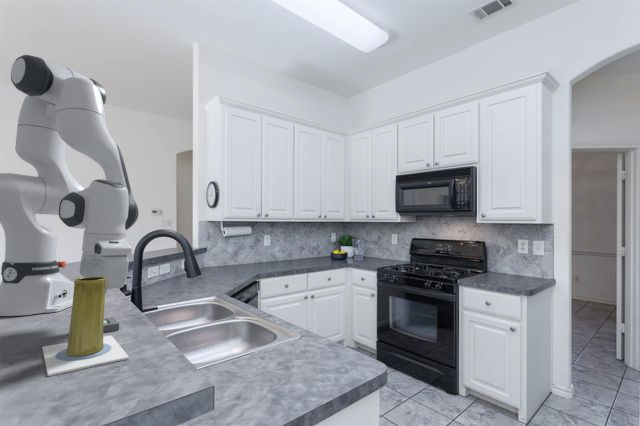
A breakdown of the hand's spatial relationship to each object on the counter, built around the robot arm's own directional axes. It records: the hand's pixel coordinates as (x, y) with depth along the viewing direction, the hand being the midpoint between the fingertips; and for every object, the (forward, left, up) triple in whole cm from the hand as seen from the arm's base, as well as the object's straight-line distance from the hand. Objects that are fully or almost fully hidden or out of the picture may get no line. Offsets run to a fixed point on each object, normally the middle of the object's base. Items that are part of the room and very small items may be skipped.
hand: (98, 300), depth 80 cm
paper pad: (+16, +9, -7) cm, 19 cm away
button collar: (+1, +1, -7) cm, 7 cm away
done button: (+1, +1, -8) cm, 8 cm away
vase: (+15, +9, -7) cm, 19 cm away
